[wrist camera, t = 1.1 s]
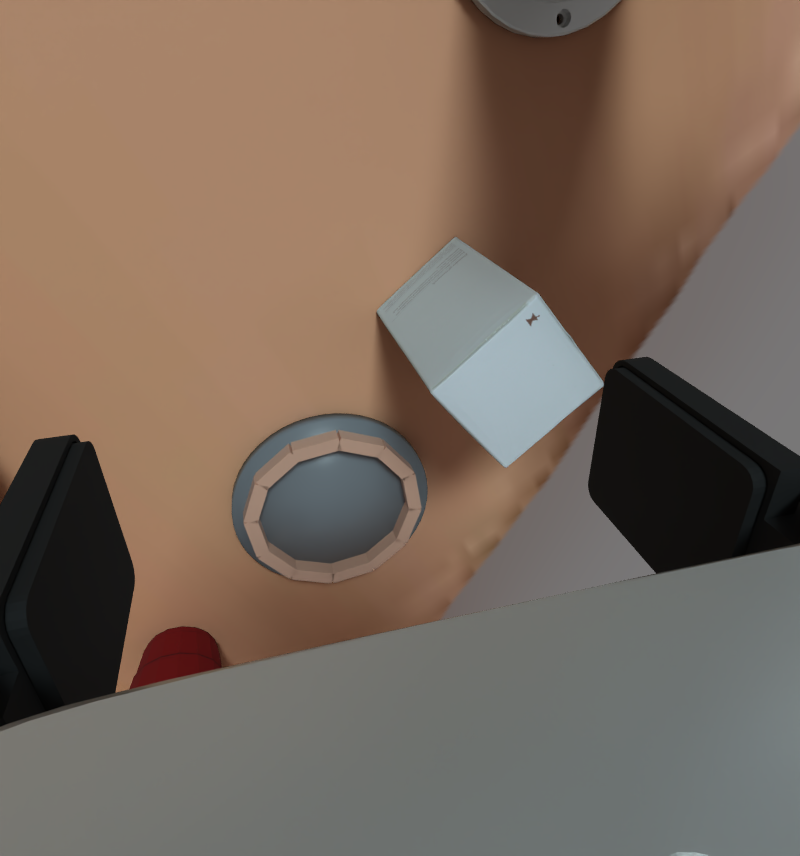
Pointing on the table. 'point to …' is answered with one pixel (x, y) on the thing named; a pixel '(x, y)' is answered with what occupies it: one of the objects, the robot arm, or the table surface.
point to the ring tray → (329, 498)
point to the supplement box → (488, 350)
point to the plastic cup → (177, 656)
